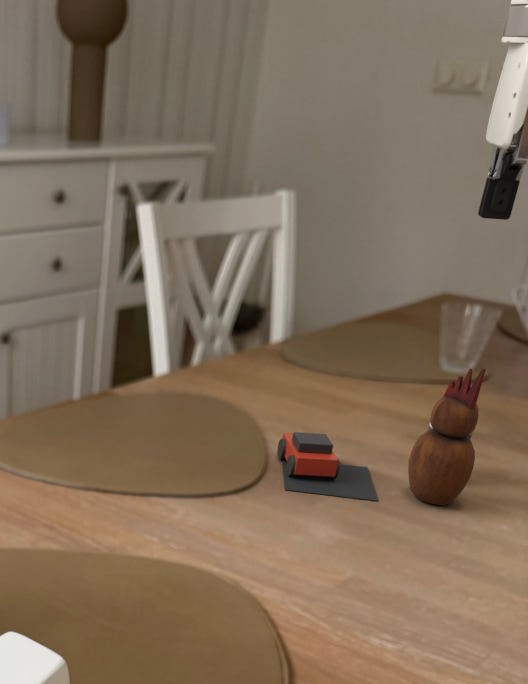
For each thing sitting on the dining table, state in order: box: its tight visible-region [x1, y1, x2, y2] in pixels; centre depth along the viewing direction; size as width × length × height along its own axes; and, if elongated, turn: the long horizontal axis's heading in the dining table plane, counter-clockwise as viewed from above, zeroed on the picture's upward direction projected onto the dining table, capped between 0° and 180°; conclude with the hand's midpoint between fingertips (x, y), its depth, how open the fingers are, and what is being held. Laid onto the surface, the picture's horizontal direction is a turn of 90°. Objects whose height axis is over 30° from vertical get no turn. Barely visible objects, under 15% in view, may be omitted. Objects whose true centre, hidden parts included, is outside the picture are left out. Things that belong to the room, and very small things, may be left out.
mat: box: [281, 459, 379, 502], centre depth 111 cm, size 10×10×1 cm
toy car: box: [276, 431, 341, 479], centre depth 112 cm, size 8×4×5 cm
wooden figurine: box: [407, 368, 486, 506], centre depth 104 cm, size 7×6×15 cm
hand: (493, 217), depth 112 cm, fingers closed
